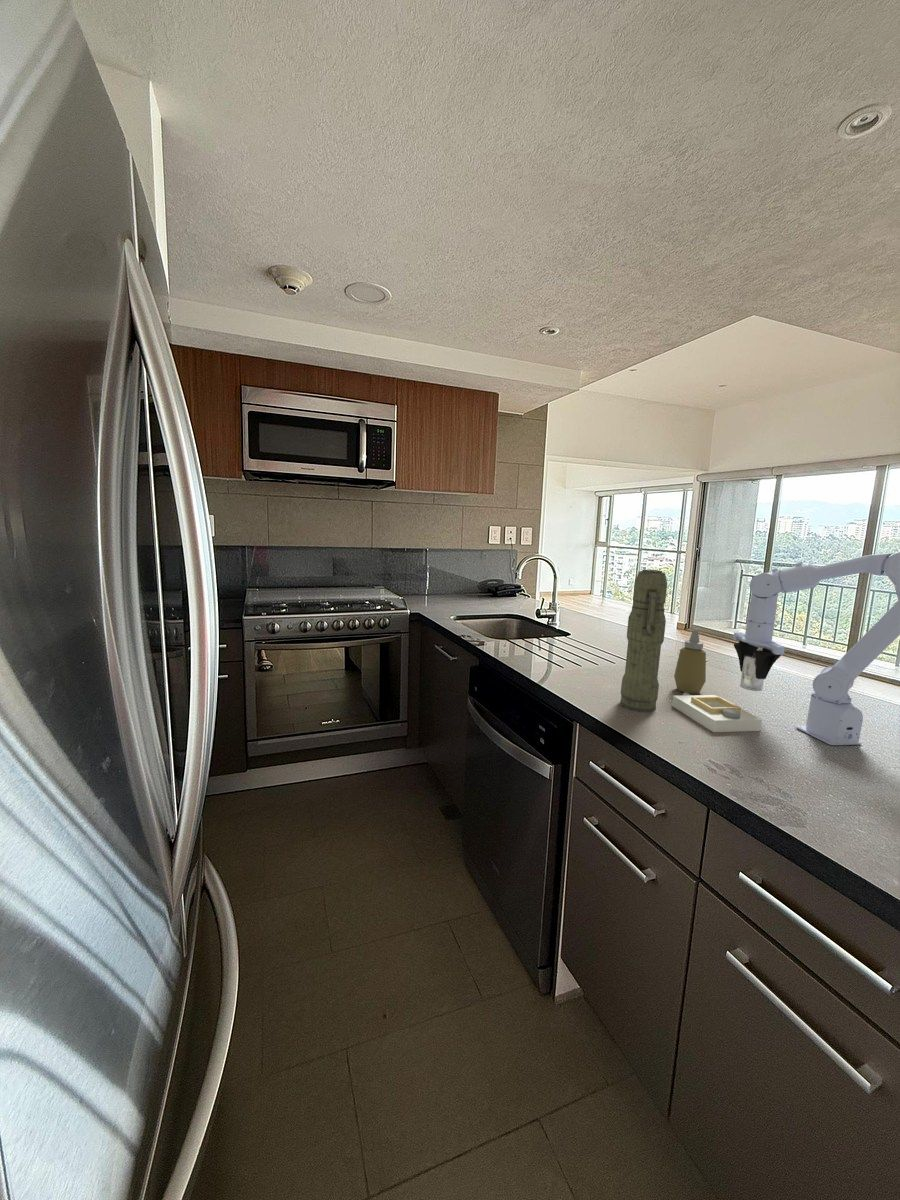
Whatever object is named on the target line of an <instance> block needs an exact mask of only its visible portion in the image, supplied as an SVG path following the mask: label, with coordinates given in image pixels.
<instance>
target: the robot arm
mask: <svg viewBox="0 0 900 1200" xmlns="http://www.w3.org/2000/svg"><path fill="white" fill-rule="evenodd" d="M861 573H863V574H864V573H865V574H869V575H870V574H871V575H874V576H882V575H884V574H885V576H886V577H887V578H888V579H889V580H890V582H891V583H892V584H893V585H894V591H895V593H896V596H897V597H896V598H897V602H895V603H894V604H893V605H892V606H891V607H890V608H889V609H888V610H887V611H886V612H885V613H884V615H882V617H880V618H879V620H878V621H876V622H875V623H874V624H873V626H872V627H871V628H870V629H869V630H868V631H866V633H865V634H864V635H863V636H862V637H861V638H860V639H859V640H857V642H856V643H855V644H854V645H853V646H852V647H851V648H850V649H849V650H848V651H847V652H846V653H845V654H844V655H843V656H842V657H841V658H839V660H838V661H837V662H836V663H834V664H833V665H829V666H827V667H825V668H823V669H822V670H821V672H820V673H819V674H817V675H816V676H815V677H814V679H813V681H812V689H813V690H811V694H810V700H809V706H808V711H807V712H808V713H807V719H806V724H805V725H795V728H796V729H798V730H800V731H802V732H804V733H805V734H808V735H810V736H811V737H813V738H815V739H818V740H820V741H822V742H824V743H826V744H827V745H830V746H847V745H848V746H849V745H850V746H851V745H852V746H854V745H862V741H860V737H861V736H860V735H861V732H862V727H863V720H864V716H863V712H862V710H860V709H859V708H857V707H856V706H854V705H853V703H852V698H851V697H850V695H849V693H848V692H849V691H850V689H852V687H853V685H854V683H855V680H857V679H856V678H858V677H859V676H860V675H861V673H863V671H864V670H865V669H867V667H868V666H870V665H871V664H872V662H873V661H874V660H875V659H877V657H879V656H880V655H881V654H882V653H883V652H884V651H885V650H886V649H887V648H888V647H889V646H890V645H891V644H892V643H893V642H895V641H896V639H897V638H899V636H900V551H898V552H896V553H894V552H887V553H884V552H883V553H877V554H875V553H874V554H868V555H863V556H859V557H855V558H850V559H846V560H842V561H838V562H833V563H829V564H825V565H821V566H815V565H813V564H812V563H808V562H807V563H804V562H802V561H801V562H796V563H794V566H790V567H786V568H781V569H778V568H773V569H771V572H761V573H759V574H756V575H755V576H753V577H752V578H751V580H750V582H749V585H748V586H749V590H750V592H751V594H750V601H749V603H748V610H747V611H748V612H747V617H746V627H745V631H744V632H745V633H743V632H739V631H738V632H733V637H732V640H733V641H739V642H737V643H736V642H735V643H734V644H733V647H734V650H735V651H736V653H737V658H738V662H739V669H740V673H742V668H743V661H744V655H745V654H753V652H754V653H755V656H756V678H757V679H764V680H766V678H767V677H768V674H769V672H770V670H771V668H772V667H773V665H774V664H775V663H776V661H778V659H780V657H781V656H783V655H785V649H786V646H784V645H781V644H778V642H775V641H774V640H773V635H774V629H775V624H776V623H775V622H776V617H777V616H776V615H777V610H778V599H779V593H781V594H788V593H794V592H798V591H804V590H809V589H814V588H816V587H817V586H818V585H819V583H820V582H821V581H822V580H829V579H834V578H835V579H836V578H840V577H845V576H846V577H847V576H852V575H856V574H861Z"/></svg>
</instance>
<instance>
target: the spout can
mask: <svg viewBox="0 0 900 1200" xmlns="http://www.w3.org/2000/svg"><path fill="white" fill-rule="evenodd" d="M740 676H741V677H740V681H739V687H740V688H742V689H745V690H748V691H753V692H761V691H763V687H764V686H763V685H764V680H765V679H757V678H756V656H755V653H754V652H753V654H745V655H744V661H743V668H742V672H741V675H740Z"/></svg>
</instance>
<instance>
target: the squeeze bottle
mask: <svg viewBox="0 0 900 1200" xmlns="http://www.w3.org/2000/svg"><path fill="white" fill-rule="evenodd" d="M703 648H704V642H702V641H700V635H699V629H698V628H693V630H692V632H691V634H690V637H689V639H687V640H685V641H684V647H681V648H680V649H679V653H678V654H679V655H678V658H677V662H676V667H675V670H674V676H673V677H674V682H675V686H676V690H678V691H679V692H683V693H685V692H686V693H688V694H690V695H698V694H699V693H701V692H702V689H703V687H704V685H705V683H706V681H707V680H706V678H707V677H706V676H707V675H706V674H707V665H706V664H707V652H706V651H705V650H704V649H703Z"/></svg>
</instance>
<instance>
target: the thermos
mask: <svg viewBox="0 0 900 1200" xmlns="http://www.w3.org/2000/svg"><path fill="white" fill-rule="evenodd" d="M667 591H668V579H667V576H666V573H665V572H663V571H662V570H658V569H656V570H655V569H642V570H639V571H638V573H637V575H636V577H635V580H634V585H633V597H632V600H633V603H632V607H631V611H630V613H629V615H628V619H627V629H626V640H627V650H626V661H625V668H624V669H625V670H624V674H623V676H622V677H621V679H622V680H621V687H620V705H621V706H622V707H624V708H626V709H628V710H632V711H636V712H643V713H645V712H647V713H648V712H654V711H655V710H656V709H657V701H658V696H659V688H660V683H659V680H658V675H659V668H660V658H661V648H662V645H663V643H664V641H665V632H666V622H667V618H666V616H665V615H666V614H665V610H666V609H665V604H666V599H667Z"/></svg>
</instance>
